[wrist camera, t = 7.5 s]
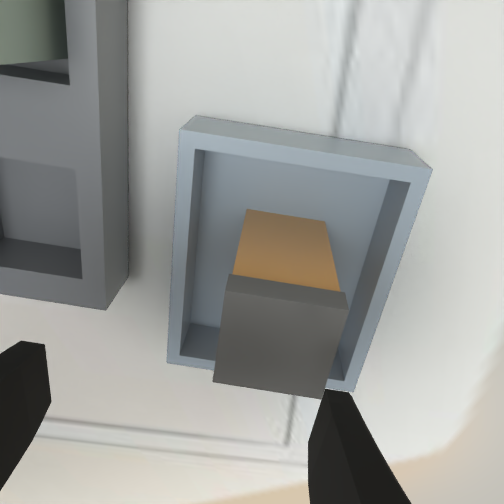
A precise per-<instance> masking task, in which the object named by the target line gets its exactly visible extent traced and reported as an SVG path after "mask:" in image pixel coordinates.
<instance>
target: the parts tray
mask: <svg viewBox="0 0 504 504" xmlns="http://www.w3.org/2000/svg"><path fill="white" fill-rule="evenodd" d="M432 170H433V169H432V168H431V167H430V166H428V165H427V164H426V163H425V162H424V161H423V160H422V159H421V158H419V157H418V156H417V155H416V154H415V153H414V152H413V151H411V150H410V149H405V148H398V147H392V146H386V145H379V144H373V143H367V142H360V141H354V140H348V139H341V138H335V137H329V136H322V135H316V134H310V133H303V132H297V131H291V130H284V129H278V128H272V127H265V126H259V125H253V124H246V123H240V122H234V121H228V120H221V119H215V118H209V117H202V116H196V115H195V116H194V117H193V118H192V119H191V120H190V121H189V122H187V123H186V124H185V125H184V126H183V127H182V128H180V129H179V146H178V164H177V182H176V200H175V219H174V237H173V255H172V273H171V292H170V310H169V328H168V346H167V363H170V364H177V365H183V366H189V367H196V368H202V369H209V370H214V368H215V360H216V353H217V346H218V338H219V331H220V323H221V316H222V309H223V301H224V294H225V288H226V284H227V280H228V276H229V274H232V273H233V268H234V264H235V259H236V255H237V250H238V246H239V241H240V237H241V232H242V228H243V223H244V219H245V214H246V210H247V209H251V210H258V211H264V212H270V213H276V214H282V215H289V216H295V217H301V218H307V219H313V220H319V221H325V224H326V228H327V233H328V237H329V242H330V246H331V251H332V255H333V260H334V264H335V269H336V273H337V278H338V282H339V287H340V291H341V292H345V294H346V299H347V303H348V307H349V313H348V317H347V320H346V323H345V326H344V329H343V332H342V336H341V339H340V342H339V345H338V348H337V351H336V355H335V358H334V361H333V364H332V367H331V370H330V374H329V377H328V380H327V383H326V386H325V388H330V389H336V390H343V391H349V392H354V389H355V386H356V384H357V381H358V378H359V375H360V372H361V370H362V367H363V364H364V361H365V358H366V356H367V353H368V350H369V347H370V344H371V342H372V339H373V336H374V333H375V330H376V328H377V325H378V322H379V319H380V316H381V313H382V311H383V308H384V305H385V302H386V299H387V297H388V294H389V291H390V288H391V285H392V283H393V280H394V277H395V274H396V271H397V269H398V266H399V263H400V260H401V257H402V255H403V252H404V249H405V246H406V243H407V241H408V238H409V235H410V232H411V229H412V226H413V224H414V221H415V218H416V215H417V212H418V210H419V207H420V204H421V201H422V198H423V196H424V193H425V190H426V187H427V184H428V182H429V179H430V176H431V173H432Z"/></svg>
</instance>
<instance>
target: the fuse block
mask: <svg viewBox="0 0 504 504" xmlns="http://www.w3.org/2000/svg"><path fill="white" fill-rule="evenodd" d="M64 1H65V16H66V32H67V47H68V59H59V60H48V61H37V62H26V63H15V64H4V65H0V294H4V295H10V296H17V297H23V298H29V299H36V300H42V301H49V302H55V303H61V304H68V305H74V306H81V307H87V308H93V309H100V310H107V308H108V307H109V305H110V304H111V302H112V301H113V299H114V298H115V296H116V295H117V293H118V292H119V290H120V289H121V287H122V286H123V284H124V282H125V281H126V279H127V278H128V19H127V0H64Z"/></svg>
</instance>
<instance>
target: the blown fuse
mask: <svg viewBox="0 0 504 504" xmlns="http://www.w3.org/2000/svg"><path fill="white" fill-rule="evenodd" d="M348 313H349V307H348V303H347V299H346V294H345V292H341V291H340V287H339V282H338V278H337V273H336V269H335V264H334V260H333V255H332V251H331V246H330V242H329V237H328V233H327V228H326V224H325V221H319V220H313V219H307V218H301V217H295V216H289V215H282V214H276V213H270V212H264V211H258V210H251V209H247V210H246V214H245V219H244V223H243V228H242V232H241V237H240V241H239V246H238V250H237V255H236V259H235V264H234V268H233V273H232V274H229V276H228V280H227V284H226V288H225V294H224V301H223V309H222V316H221V323H220V331H219V338H218V346H217V353H216V360H215V368H214V375H213V382H216V383H222V384H228V385H234V386H241V387H247V388H253V389H259V390H266V391H272V392H278V393H285V394H291V395H297V396H303V397H310V398H316V399H322V396H323V393H324V390H325V386H326V383H327V380H328V377H329V374H330V370H331V367H332V364H333V361H334V358H335V355H336V351H337V348H338V345H339V342H340V339H341V336H342V332H343V329H344V326H345V323H346V320H347V317H348Z"/></svg>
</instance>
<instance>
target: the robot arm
mask: <svg viewBox="0 0 504 504" xmlns="http://www.w3.org/2000/svg"><path fill="white" fill-rule="evenodd" d="M50 404H51V394H50V385H49V377H48V368H47V360H46V351H45V344H39V343H32V342H26V341H20V342H18V343H16V344H15V345H13V346H12V347H10V348H9V349H7V350H5V351H4V352H2V353H1V354H0V491H1V489H2V487H3V486H4V484H5V483H6V481H7V480H8V478H9V477H10V475H11V474H12V472H13V470H14V469H15V467H16V466H17V464H18V463H19V461H20V459H21V458H22V456H23V455H24V453H25V452H26V450H27V448H28V447H29V445H30V444H31V442H32V440H33V438H34V436H35V434H36V432H37V430H38V428H39V427H40V425H41V423H42V420H43V418H44V416H45V414H46V412H47V410H48V408H49V406H50ZM308 486H309V497H310V504H411V502H410V500H409V499H408V497H407V496H406V494H405V492H404V491H403V489H402V488H401V486H400V484H399V483H398V481H397V479H396V478H395V476H394V474H393V472H392V471H391V469H390V467H389V466H388V464H387V462H386V460H385V459H384V457H383V455H382V453H381V452H380V450H379V448H378V446H377V444H376V443H375V441H374V439H373V437H372V435H371V433H370V431H369V430H368V428H367V426H366V424H365V422H364V420H363V418H362V416H361V414H360V412H359V410H358V408H357V406H356V404H355V402H354V400H353V398H352V396H351V395H350V394H349V392H342V391H336V390H330V389H325V391H324V394H323V397H322V400H321V403H320V407H319V410H318V413H317V416H316V419H315V422H314V425H313V429H312V432H311V435H310V438H309V441H308Z"/></svg>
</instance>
